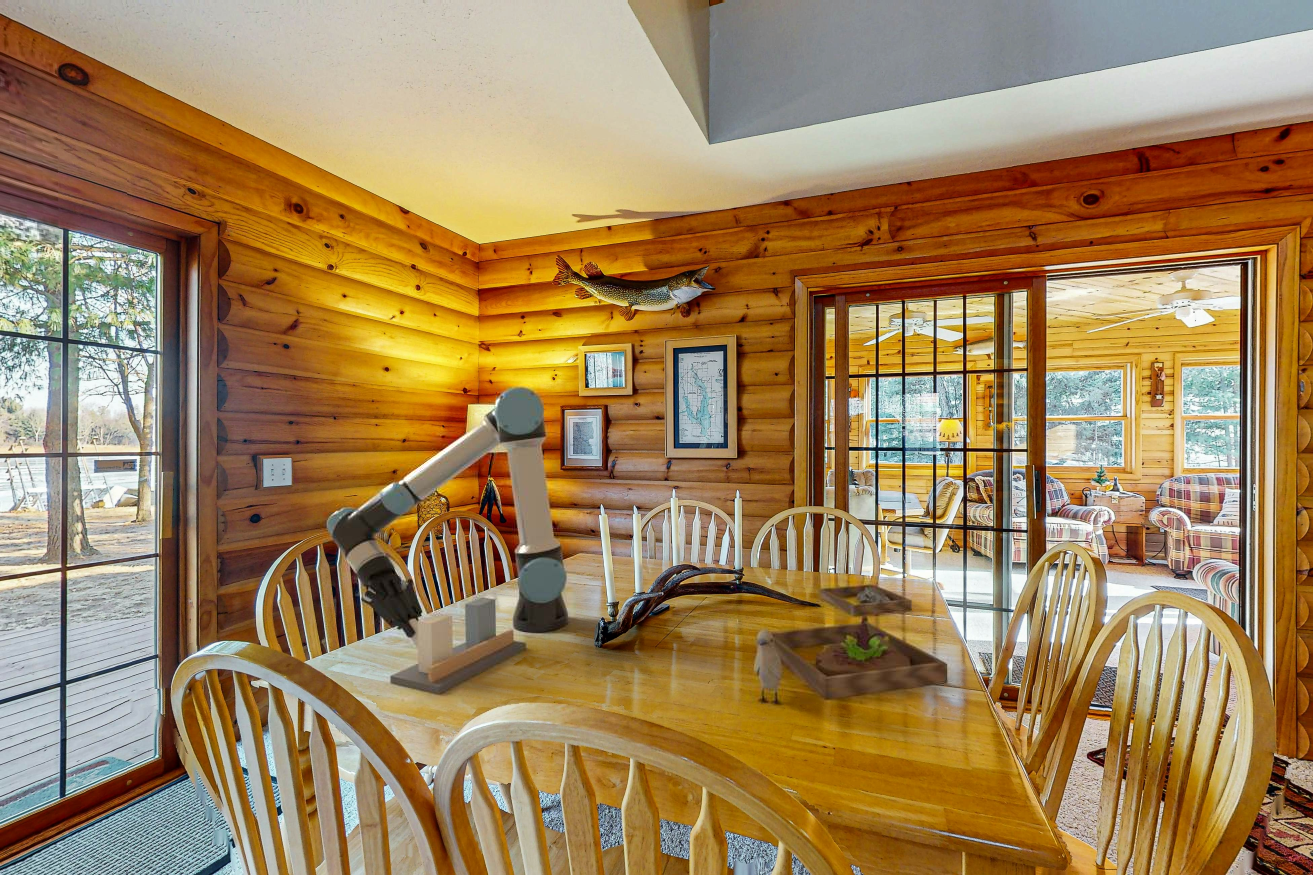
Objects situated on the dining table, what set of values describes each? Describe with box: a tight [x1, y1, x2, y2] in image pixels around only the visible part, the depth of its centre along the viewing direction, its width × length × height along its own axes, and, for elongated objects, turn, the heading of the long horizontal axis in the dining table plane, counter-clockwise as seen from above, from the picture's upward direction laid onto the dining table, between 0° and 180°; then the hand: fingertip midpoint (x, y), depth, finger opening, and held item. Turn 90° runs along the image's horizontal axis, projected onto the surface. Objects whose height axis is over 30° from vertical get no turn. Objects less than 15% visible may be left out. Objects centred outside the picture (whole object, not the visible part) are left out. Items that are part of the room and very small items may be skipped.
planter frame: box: [769, 621, 948, 701], centre depth 133 cm, size 28×28×4 cm
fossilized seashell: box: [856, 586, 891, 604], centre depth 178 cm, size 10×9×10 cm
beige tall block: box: [417, 612, 454, 673], centre depth 131 cm, size 4×6×11 cm, turn 154°
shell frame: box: [818, 583, 912, 617], centre depth 179 cm, size 19×19×3 cm
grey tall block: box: [464, 597, 497, 650], centre depth 143 cm, size 4×6×11 cm, turn 154°
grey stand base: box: [389, 629, 527, 695], centre depth 137 cm, size 14×28×4 cm, turn 154°
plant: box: [815, 615, 912, 677], centre depth 132 cm, size 20×20×11 cm
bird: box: [753, 628, 783, 706], centre depth 115 cm, size 5×14×15 cm, turn 158°
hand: (424, 645), depth 132 cm, fingers closed
